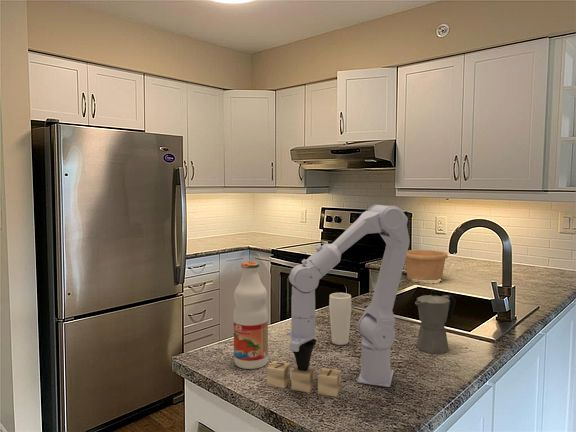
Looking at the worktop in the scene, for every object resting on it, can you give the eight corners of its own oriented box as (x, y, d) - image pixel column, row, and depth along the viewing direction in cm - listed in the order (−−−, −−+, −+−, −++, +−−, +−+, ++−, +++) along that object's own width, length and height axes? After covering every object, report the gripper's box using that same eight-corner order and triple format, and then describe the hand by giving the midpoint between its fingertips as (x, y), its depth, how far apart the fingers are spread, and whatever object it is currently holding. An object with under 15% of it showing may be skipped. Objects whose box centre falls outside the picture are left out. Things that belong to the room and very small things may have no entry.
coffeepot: (426, 357, 123) (427, 295, 122) (404, 346, 132) (405, 288, 131) (466, 349, 130) (467, 289, 129) (442, 338, 138) (444, 283, 137)
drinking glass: (324, 342, 135) (324, 295, 134) (337, 337, 140) (337, 291, 139) (342, 348, 131) (342, 299, 130) (355, 342, 136) (355, 295, 134)
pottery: (445, 277, 230) (445, 250, 229) (448, 286, 209) (449, 257, 208) (403, 275, 236) (403, 249, 235) (401, 284, 215) (402, 255, 214)
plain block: (297, 382, 109) (297, 364, 108) (314, 385, 107) (314, 367, 107) (291, 390, 105) (291, 372, 104) (309, 393, 103) (309, 374, 103)
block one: (322, 385, 107) (322, 367, 106) (340, 388, 105) (340, 370, 105) (317, 394, 102) (317, 375, 102) (336, 397, 101) (336, 377, 101)
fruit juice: (275, 363, 120) (274, 262, 118) (248, 373, 114) (247, 267, 112) (253, 353, 127) (252, 258, 125) (227, 362, 121) (225, 262, 119)
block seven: (273, 378, 111) (273, 360, 111) (290, 380, 109) (290, 362, 109) (266, 385, 107) (266, 367, 106) (284, 388, 105) (283, 370, 105)
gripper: (296, 305, 113) (296, 356, 114) (277, 322, 99) (277, 380, 100) (323, 308, 110) (322, 360, 111) (306, 325, 97) (306, 384, 98)
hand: (303, 370), depth 106 cm, fingers closed, pressing on plain block
